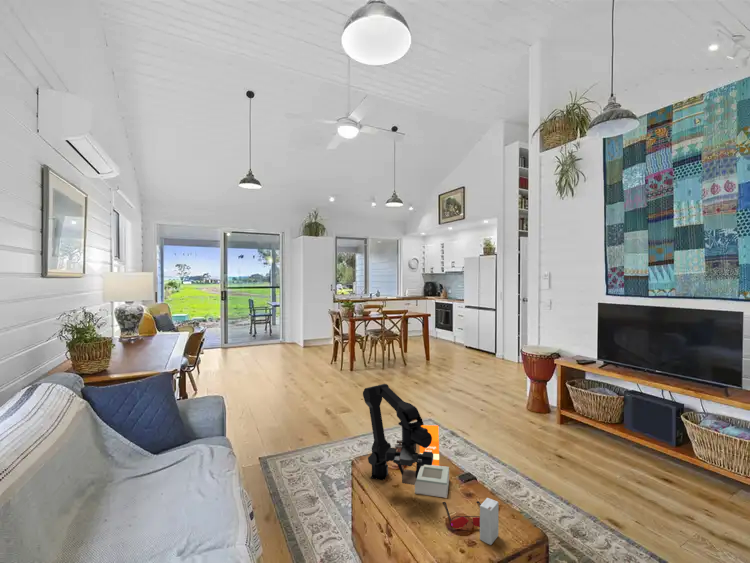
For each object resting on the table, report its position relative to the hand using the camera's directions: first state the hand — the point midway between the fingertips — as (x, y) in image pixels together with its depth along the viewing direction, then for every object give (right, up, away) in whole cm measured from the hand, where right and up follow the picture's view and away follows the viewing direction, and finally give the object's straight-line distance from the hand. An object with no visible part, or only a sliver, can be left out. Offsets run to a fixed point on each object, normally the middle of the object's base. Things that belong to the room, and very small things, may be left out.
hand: (409, 477), depth 148 cm
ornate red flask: (0, -8, +30) cm, 31 cm away
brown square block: (0, -1, 0) cm, 1 cm away
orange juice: (+11, -8, +23) cm, 27 cm away
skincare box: (+25, -9, -23) cm, 35 cm away
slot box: (+10, -8, +8) cm, 15 cm away
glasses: (+20, -9, -11) cm, 24 cm away
